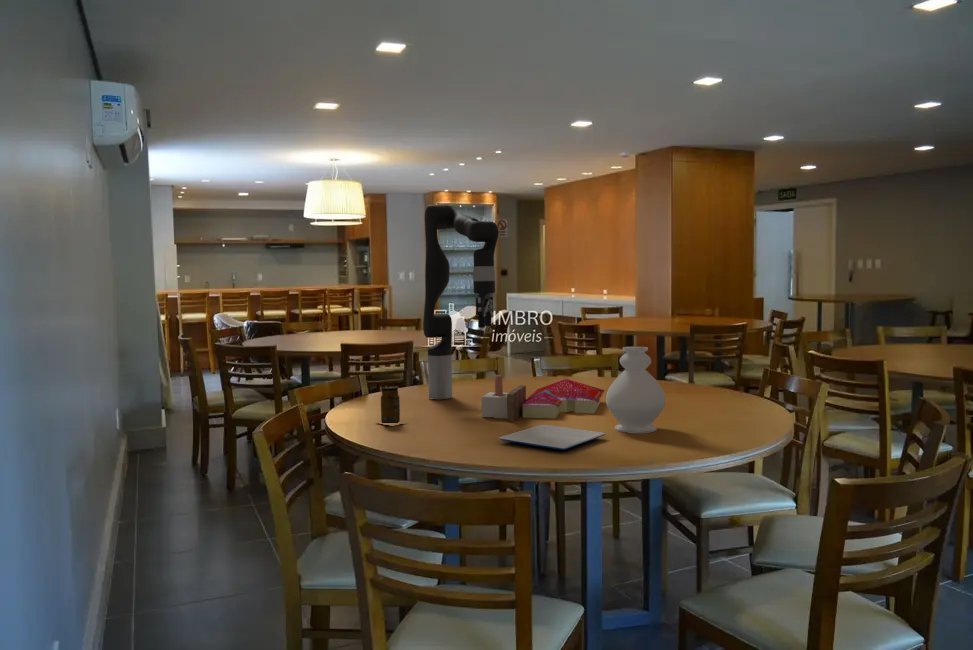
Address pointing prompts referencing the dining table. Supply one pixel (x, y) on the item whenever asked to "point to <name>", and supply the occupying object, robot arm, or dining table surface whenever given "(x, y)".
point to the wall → (515, 402)
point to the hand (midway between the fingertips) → (485, 326)
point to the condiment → (390, 405)
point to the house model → (562, 400)
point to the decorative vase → (635, 394)
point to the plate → (552, 437)
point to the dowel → (498, 386)
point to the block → (494, 405)
